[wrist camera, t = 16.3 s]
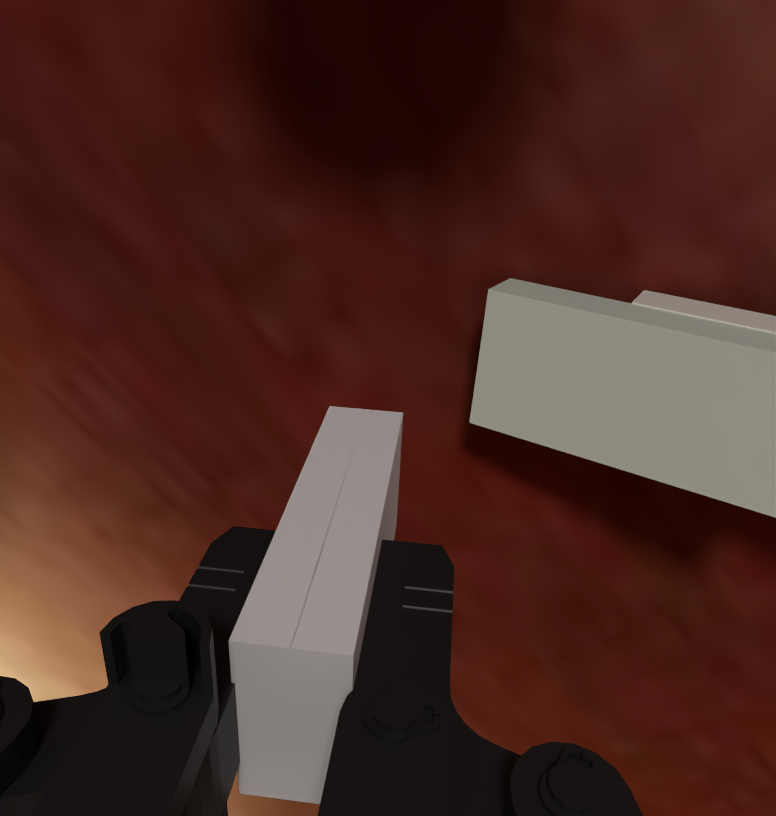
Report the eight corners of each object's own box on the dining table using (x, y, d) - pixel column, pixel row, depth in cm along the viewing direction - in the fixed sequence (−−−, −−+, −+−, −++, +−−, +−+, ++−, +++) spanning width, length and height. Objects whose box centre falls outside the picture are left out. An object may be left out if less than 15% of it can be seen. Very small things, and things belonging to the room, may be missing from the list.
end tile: (469, 422, 23) (818, 530, 18) (488, 289, 21) (882, 376, 16) (490, 404, 24) (819, 500, 20) (510, 278, 22) (877, 354, 18)
